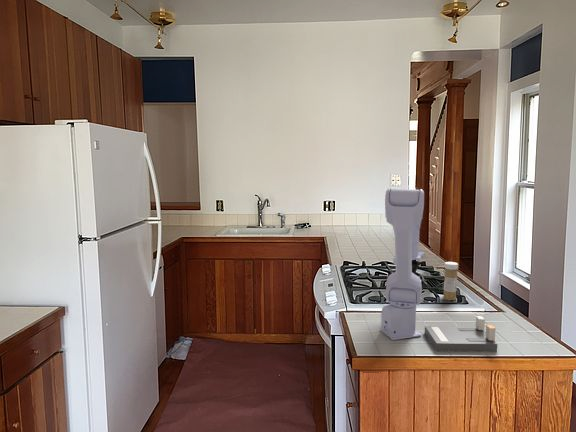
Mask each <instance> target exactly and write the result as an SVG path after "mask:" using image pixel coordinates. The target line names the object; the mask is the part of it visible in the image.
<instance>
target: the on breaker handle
mask: <svg viewBox="0 0 576 432" xmlns="http://www.w3.org/2000/svg"><path fill="white" fill-rule="evenodd" d="M485 320H486V319H485V318H484V317H483V316H482V315H476V316H475V326H476V328H477V329H478V330H484V331H485V324H486V322H485Z"/></svg>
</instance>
